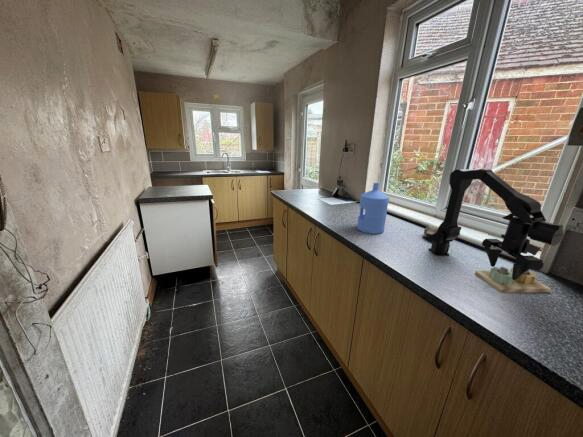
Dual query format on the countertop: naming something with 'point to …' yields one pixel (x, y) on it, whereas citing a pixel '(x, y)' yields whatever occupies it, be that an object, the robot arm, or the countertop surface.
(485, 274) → the gear board
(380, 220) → the water jug
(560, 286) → the countertop surface
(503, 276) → the green gear
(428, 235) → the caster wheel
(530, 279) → the brass gear
